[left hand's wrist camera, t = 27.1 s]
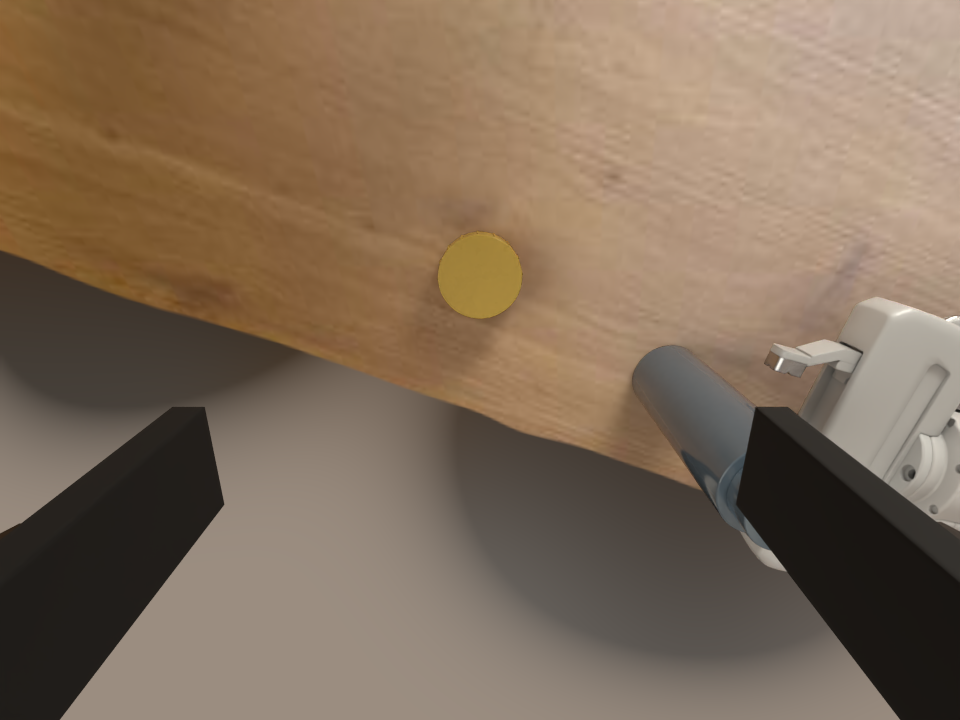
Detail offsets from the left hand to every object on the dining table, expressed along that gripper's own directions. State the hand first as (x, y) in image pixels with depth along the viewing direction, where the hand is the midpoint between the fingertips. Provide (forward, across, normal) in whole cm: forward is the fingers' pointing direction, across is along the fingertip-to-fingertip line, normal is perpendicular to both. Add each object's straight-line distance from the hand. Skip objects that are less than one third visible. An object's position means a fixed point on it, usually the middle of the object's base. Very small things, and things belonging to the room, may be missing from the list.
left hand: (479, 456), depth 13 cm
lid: (+25, 0, -1) cm, 25 cm away
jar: (+27, +15, -9) cm, 32 cm away
